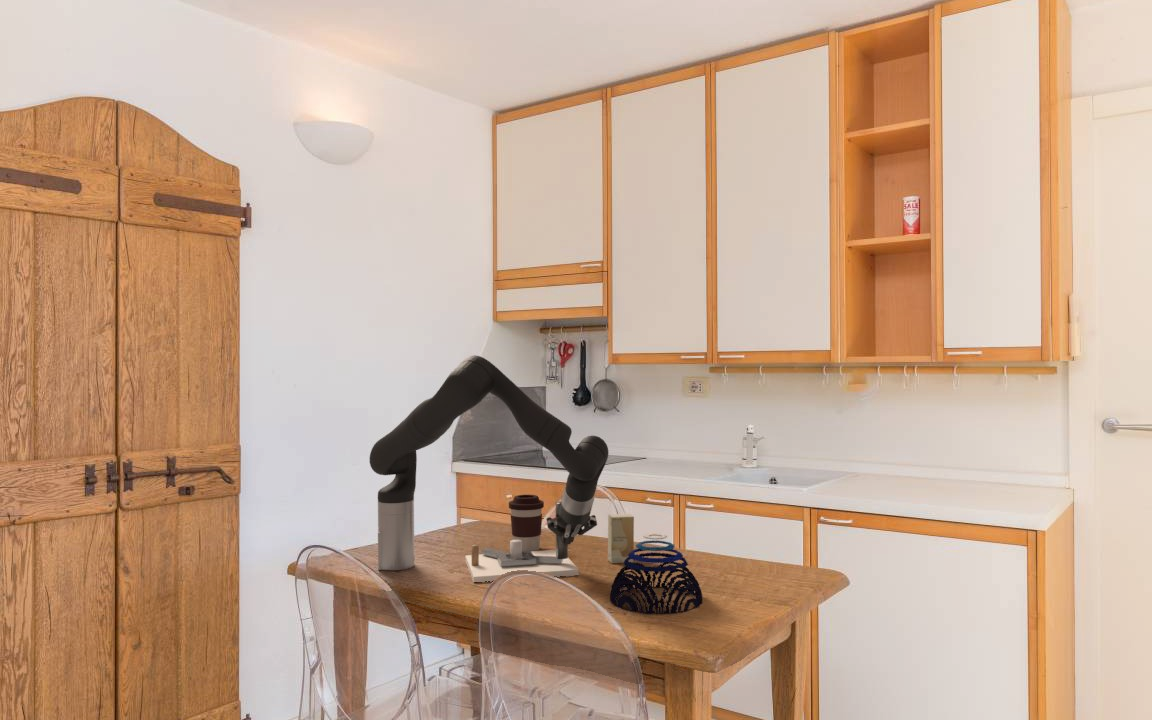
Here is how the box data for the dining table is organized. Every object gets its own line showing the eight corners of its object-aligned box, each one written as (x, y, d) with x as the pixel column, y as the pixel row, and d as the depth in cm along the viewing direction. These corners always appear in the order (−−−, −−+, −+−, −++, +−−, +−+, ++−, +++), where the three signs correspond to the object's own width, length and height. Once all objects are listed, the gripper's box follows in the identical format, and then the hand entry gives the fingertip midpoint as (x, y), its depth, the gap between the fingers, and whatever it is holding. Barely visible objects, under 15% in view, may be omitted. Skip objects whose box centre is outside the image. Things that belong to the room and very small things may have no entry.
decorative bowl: (591, 601, 178) (590, 536, 178) (649, 583, 192) (649, 522, 192) (661, 621, 164) (660, 550, 164) (719, 600, 178) (718, 535, 178)
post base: (473, 583, 193) (473, 553, 193) (465, 561, 214) (465, 534, 214) (578, 575, 198) (578, 547, 198) (560, 554, 220) (560, 529, 220)
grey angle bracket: (488, 568, 198) (487, 507, 198) (480, 552, 215) (480, 496, 215) (569, 563, 203) (568, 503, 203) (555, 548, 220) (555, 492, 220)
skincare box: (611, 564, 210) (610, 517, 210) (607, 560, 214) (606, 514, 214) (634, 562, 211) (634, 516, 211) (630, 558, 215) (630, 513, 215)
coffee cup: (528, 555, 220) (528, 500, 220) (501, 550, 226) (501, 497, 226) (551, 548, 228) (550, 495, 228) (524, 543, 234) (524, 492, 234)
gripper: (551, 516, 186) (542, 556, 198) (607, 513, 189) (594, 553, 201) (547, 489, 191) (538, 530, 203) (601, 487, 194) (589, 527, 206)
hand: (566, 541), depth 202 cm, fingers closed
